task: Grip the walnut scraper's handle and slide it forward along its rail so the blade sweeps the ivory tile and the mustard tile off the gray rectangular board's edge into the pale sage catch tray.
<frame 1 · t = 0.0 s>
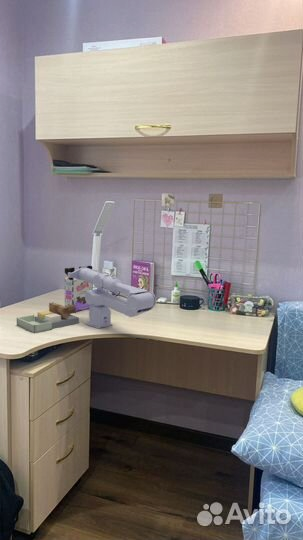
hand: (72, 269, 196), 22 cm above the table, tool horizontal, fingers open, 7 cm apart
tile ivory: (52, 319, 182), point 2 cm above the table, touching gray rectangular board
candy box: (79, 309, 212), on the table
scraper: (65, 309, 190), point 5 cm above the table, slide at 0.0 cm
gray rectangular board: (55, 325, 183), on the table
tile mustard: (45, 317, 187), point 2 cm above the table, touching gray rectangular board
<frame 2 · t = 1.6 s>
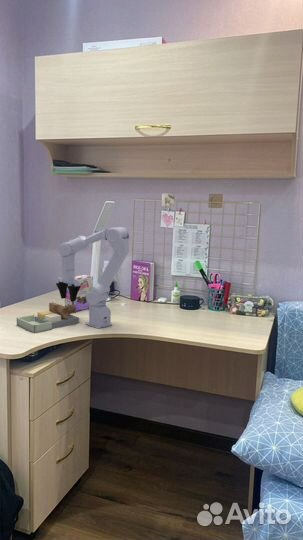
hand: (68, 299, 190), 9 cm above the table, tool pointing down, fingers open, 7 cm apart
nothing on the table moved.
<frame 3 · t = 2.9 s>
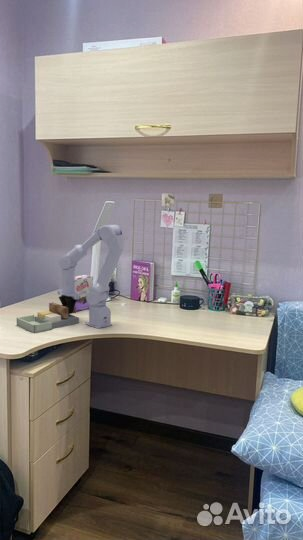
hand: (68, 312, 191), 4 cm above the table, tool pointing down, fingers closed on scraper, 3 cm apart
scraper: (65, 309, 190), point 5 cm above the table, slide at 0.0 cm, touching gripper
everything else where it was.
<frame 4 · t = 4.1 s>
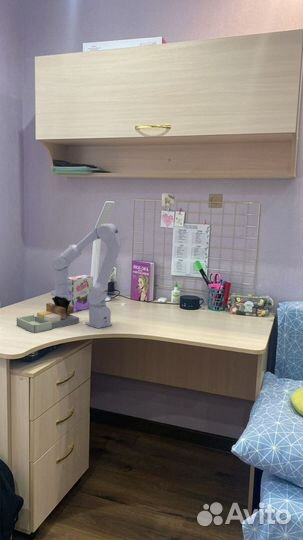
hand: (61, 313, 189), 4 cm above the table, tool pointing down, fingers closed on scraper, 3 cm apart
scraper: (62, 309, 189), point 5 cm above the table, slide at 1.5 cm, touching gripper
everything else where it was.
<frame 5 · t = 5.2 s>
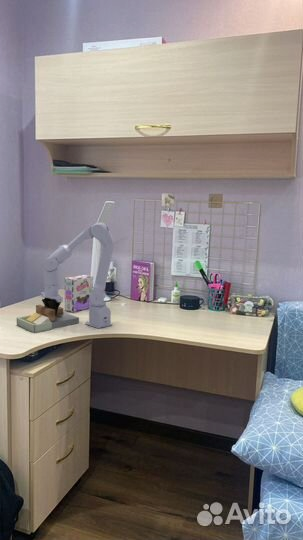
hand: (51, 315, 185), 4 cm above the table, tool pointing down, fingers closed on scraper, 3 cm apart
tile ivory: (42, 323, 179), point 2 cm above the table, tilted 27°, touching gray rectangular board
scraper: (52, 311, 185), point 5 cm above the table, slide at 6.5 cm, touching gripper
tile mustard: (35, 320, 183), point 2 cm above the table, tilted 27°, touching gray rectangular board
everything else where it was.
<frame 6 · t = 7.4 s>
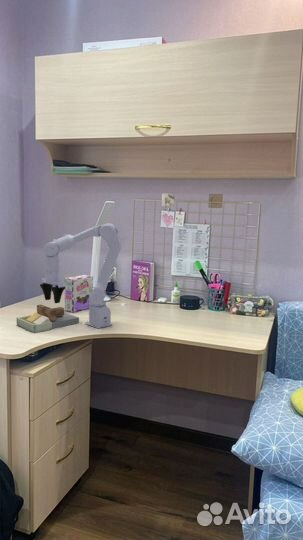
hand: (52, 301, 185), 10 cm above the table, tool pointing down, fingers open, 7 cm apart
scraper: (53, 311, 186), point 5 cm above the table, slide at 6.1 cm
everything else where it was.
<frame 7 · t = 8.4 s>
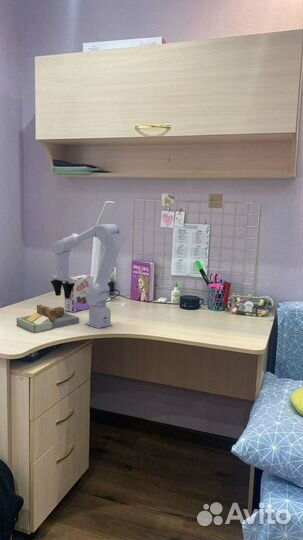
hand: (62, 296, 193), 10 cm above the table, tool pointing down, fingers open, 7 cm apart
nothing on the table moved.
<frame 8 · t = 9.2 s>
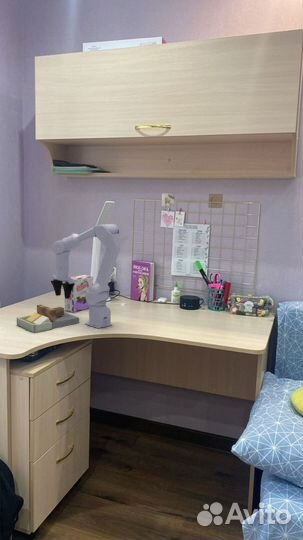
hand: (62, 296, 193), 10 cm above the table, tool pointing down, fingers open, 7 cm apart
nothing on the table moved.
at the end: tile mustard inside the target area (4.0 cm from its centre), point 1.7 cm above the table; tile ivory inside the target area (4.0 cm from its centre), point 1.7 cm above the table; scraper slide at 6.1 cm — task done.
